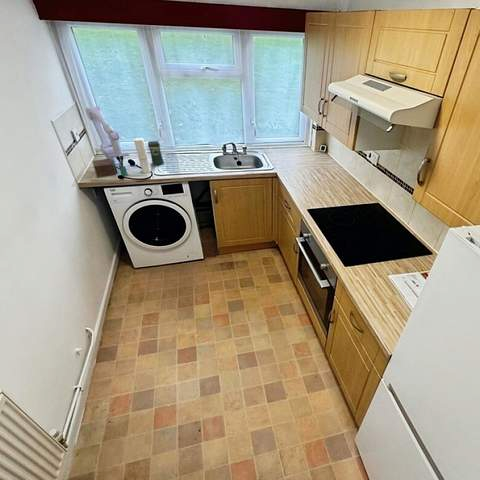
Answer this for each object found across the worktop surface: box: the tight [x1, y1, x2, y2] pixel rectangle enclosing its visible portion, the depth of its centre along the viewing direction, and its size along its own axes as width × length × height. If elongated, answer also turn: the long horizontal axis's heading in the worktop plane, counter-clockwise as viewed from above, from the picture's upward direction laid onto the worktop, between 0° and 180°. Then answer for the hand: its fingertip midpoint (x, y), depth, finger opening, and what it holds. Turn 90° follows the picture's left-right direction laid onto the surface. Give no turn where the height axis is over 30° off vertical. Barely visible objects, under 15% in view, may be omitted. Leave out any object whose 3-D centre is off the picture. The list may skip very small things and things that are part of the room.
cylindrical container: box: [133, 137, 152, 174], centre depth 237 cm, size 7×7×25 cm
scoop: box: [112, 164, 128, 177], centre depth 234 cm, size 9×5×10 cm, turn 119°
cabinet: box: [92, 158, 117, 178], centre depth 237 cm, size 14×15×9 cm
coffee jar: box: [147, 140, 165, 166], centre depth 254 cm, size 10×8×19 cm
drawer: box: [112, 160, 121, 174], centre depth 239 cm, size 17×13×7 cm
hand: (122, 165), depth 242 cm, fingers closed
